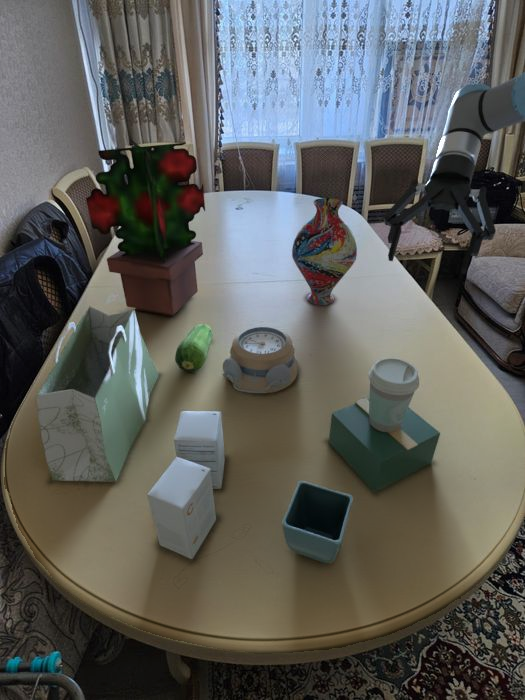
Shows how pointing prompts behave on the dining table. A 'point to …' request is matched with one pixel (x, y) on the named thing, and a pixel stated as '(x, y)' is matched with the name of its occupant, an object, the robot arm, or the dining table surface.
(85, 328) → the green gift bag
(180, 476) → the small box
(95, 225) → the potted plant
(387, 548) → the dining table surface
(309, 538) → the flower pot
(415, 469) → the green parcel box
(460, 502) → the dining table surface
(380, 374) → the coffee cup
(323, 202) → the vase
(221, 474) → the white packaging box
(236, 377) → the alarm clock
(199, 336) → the vegetable
